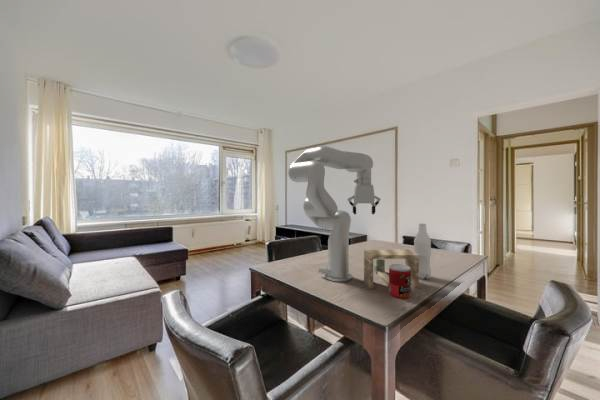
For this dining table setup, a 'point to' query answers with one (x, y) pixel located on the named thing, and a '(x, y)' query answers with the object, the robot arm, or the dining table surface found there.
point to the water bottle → (423, 251)
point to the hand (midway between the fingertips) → (364, 214)
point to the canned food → (400, 281)
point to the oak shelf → (408, 255)
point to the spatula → (381, 270)
